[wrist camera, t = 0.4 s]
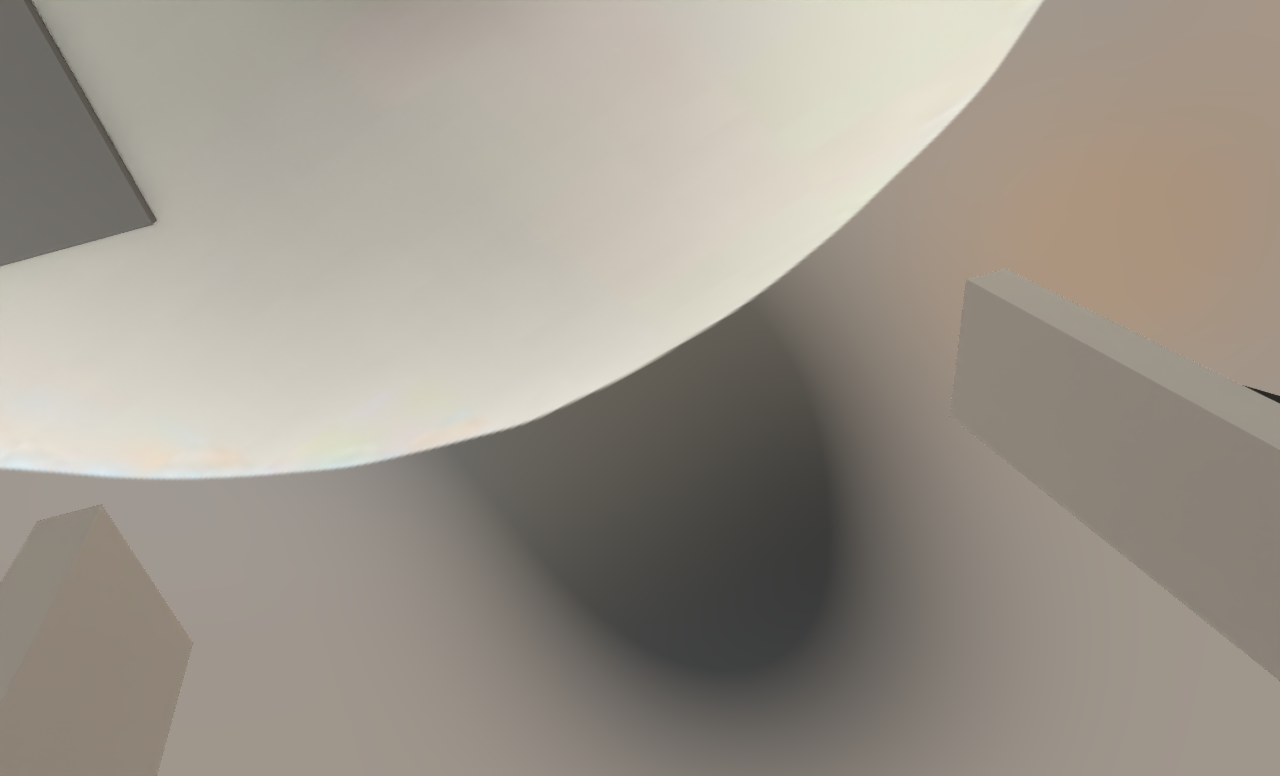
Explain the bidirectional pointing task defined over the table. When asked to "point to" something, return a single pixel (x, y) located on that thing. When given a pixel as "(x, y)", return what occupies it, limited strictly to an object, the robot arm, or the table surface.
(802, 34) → the table surface
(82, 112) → the mat
